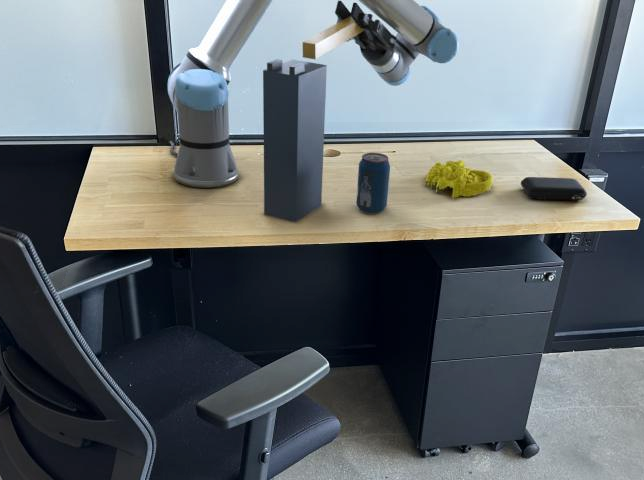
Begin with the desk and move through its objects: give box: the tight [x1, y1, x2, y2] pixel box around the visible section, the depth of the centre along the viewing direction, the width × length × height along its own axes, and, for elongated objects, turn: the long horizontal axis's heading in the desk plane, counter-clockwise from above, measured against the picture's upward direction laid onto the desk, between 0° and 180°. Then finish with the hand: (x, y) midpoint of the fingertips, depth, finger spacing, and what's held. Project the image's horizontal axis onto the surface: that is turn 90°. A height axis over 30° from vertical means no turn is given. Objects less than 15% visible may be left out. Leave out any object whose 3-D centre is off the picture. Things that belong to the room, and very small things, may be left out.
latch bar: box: [302, 13, 369, 60], centre depth 161 cm, size 26×3×3 cm, turn 153°
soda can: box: [355, 152, 391, 215], centre depth 165 cm, size 7×7×12 cm
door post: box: [262, 58, 328, 223], centre depth 157 cm, size 12×8×32 cm, turn 154°
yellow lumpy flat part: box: [424, 159, 493, 199], centre depth 183 cm, size 17×16×4 cm
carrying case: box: [520, 176, 588, 201], centre depth 180 cm, size 11×3×15 cm
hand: (345, 8), depth 160 cm, fingers closed on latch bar, 3 cm apart
